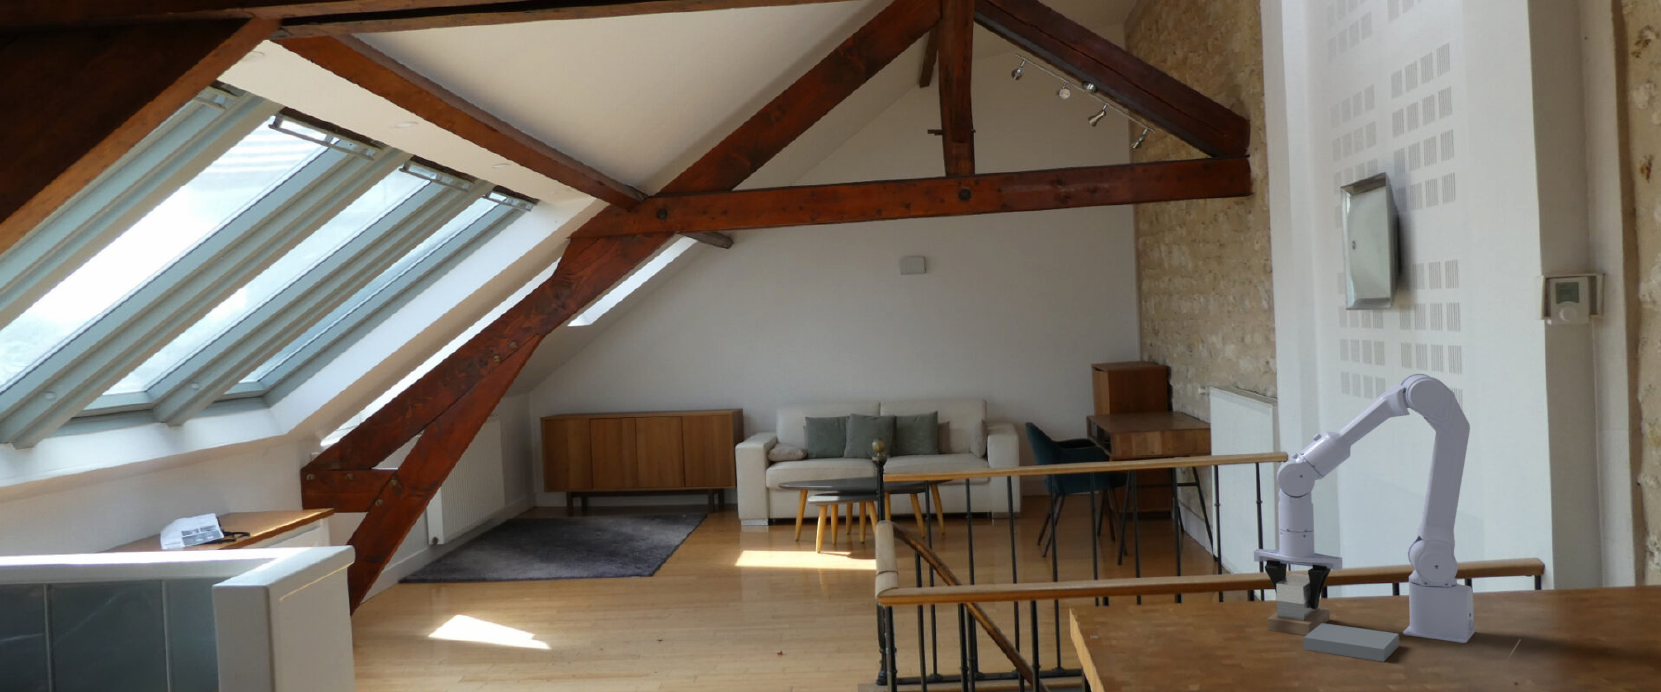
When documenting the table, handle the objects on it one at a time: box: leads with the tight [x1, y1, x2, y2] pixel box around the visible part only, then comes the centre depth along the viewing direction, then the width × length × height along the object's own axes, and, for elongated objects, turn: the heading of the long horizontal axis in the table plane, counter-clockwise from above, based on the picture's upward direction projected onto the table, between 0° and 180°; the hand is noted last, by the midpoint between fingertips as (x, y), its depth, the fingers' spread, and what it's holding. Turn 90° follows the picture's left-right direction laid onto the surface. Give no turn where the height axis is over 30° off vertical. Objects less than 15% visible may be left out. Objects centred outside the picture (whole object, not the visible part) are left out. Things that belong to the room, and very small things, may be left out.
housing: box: [1276, 572, 1321, 621], centre depth 195 cm, size 4×9×6 cm, turn 140°
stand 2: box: [1303, 623, 1400, 662], centre depth 181 cm, size 12×10×2 cm
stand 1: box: [1266, 607, 1331, 637], centre depth 195 cm, size 7×12×2 cm, turn 140°
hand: (1298, 605), depth 195 cm, fingers open, 5 cm apart
